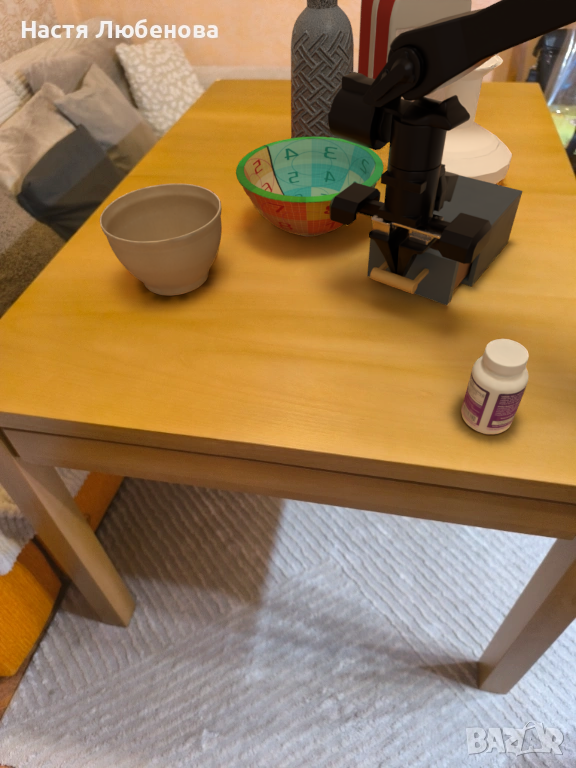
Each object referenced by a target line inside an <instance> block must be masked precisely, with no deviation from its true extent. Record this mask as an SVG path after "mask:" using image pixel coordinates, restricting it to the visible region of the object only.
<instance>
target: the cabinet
mask: <svg viewBox="0 0 576 768" xmlns="http://www.w3.org/2000/svg"><path fill="white" fill-rule="evenodd" d="M523 192H524V191H523V190H521V189H517V188H513V187H509V186H506V185H505V186H504V185H500V184H498V183H496V184H493V183H489V182H485V181H481V180H477V179H473V178H469V177H465V176H461V175H459V177H458V180H457V183H456V186H455V190H454V193H453V196H452V199H451V201H450V202H448V201H444V205H443V208H442V209H441V210H440V211H439V212H438V211H434V212H433V214H435V215H439V216H442V217H444V221H447V222H450V223H451V222H452V221H453V220H454V219H455V218H456V217H457V216H458V215H459V214H460V213H465V214H468V215H472V216H475V217H479V218H482V219H486V220H489V222H490V224H491V226H492V229H493V231H492V234H491V238H490V242H489V243H488V244H487V246H486V247H485V248H484V249H483V250H482V251H481V252H480V253H479V255H478V256H477V257H476V258H475V259H474V260H473V262H472V266H471V271H470V272H469V273H468V274H467V275H466V277H465V278H464V279H463V280H462V281H461V282H460V284H463V285H465V286H469V287H471V288H472V287H473V286H474V285H475V284H476V283H477V281H478V280H479V279H480V277H481V276H482V275H483V274H484V272H486V270H487V269H488V268H489V266H490V265H491V264H492V263H493V262H494V260H495V259H496V257H498V255H499V254H500V253H501V252H502V251H503V249H504V248H505V247H506V246H507V244H508V243H509V241H510V240H509V239H510V236H511V233H512V229H513V226H514V223H515V220H516V216H517V212H518V208H519V205H520V201H521V198H522V196H523Z"/></svg>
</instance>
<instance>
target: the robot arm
mask: <svg viewBox="0 0 576 768" xmlns="http://www.w3.org/2000/svg"><path fill="white" fill-rule="evenodd" d="M574 23H576V0H499V1H497V2H494V3H492V4H490V5H488V6H486V7H483V8H479V9H474V10H471V11H468V12H465V13H461V14H457V15H453V16H449V17H445V18H442V19H439V20H436V21H433V22H431V23H428V24H425V25H422V26H420V27H417V28H414V29H412V30H409V31H406V32H403V33H401V34H399V35H398V36H397V37H396V38H395V39H394V40H393V41H392V43H391V44H390V51H389V54H388V61H387V63H386V65H385V66H384V67H383V69H382V70H381V72H380V73H379V75H378V76H377V78H376V79H373V78H369V77H366V76H365V75H363V74H361V73H358V71H357V72H356V71H353V73H350V74H348V75H345V76H343V77H342V86H341V89H340V90H339V91H338V93H337V94H336V96H335V98H334V100H333V103H332V105H331V109H330V111H329V113H328V125H329V129H330V131H331V133H332V135H334V136H335V137H337V138H340V139H343V140H346V141H349V142H352V143H355V144H358V145H361V146H364V147H367V148H369V149H371V150H373V151H380V150H381V149H383V148H385V146H386V145H387V144H389V147H388V158H387V169H386V170H385V171H383V173H382V174H381V178H380V184H382V185H385V191H384V192H385V193H384V201H381V191H380V190H379V189H378V188H376V187H375V188H373V187H370V186H366V185H362V184H359V183H355V182H354V183H353V184H351V185H350V186H348V187H347V188H346V189H344V190H343V191H342V192H340V193H339V194H338V195H336V196H335V197H334V198H333V199H332V201H331V203H330V216H329V217H330V220H332V221H335V222H338V223H341V224H344V225H345V226H350V225H351V224H353V223H354V222H355V221H357V216H358V214H360V215H364V216H367V217H370V218H371V219H370V221H371V222H372V225H371V230H369V232H368V238H369V240H370V239H373V240H374V241H375V243H376V244H377V246H378V248H379V249H380V251H381V253H382V254H383V256H384V258H385V260H386V262H387V264H388V267H389V269H390V271H391V273H394V274H397V275H400V276H403V277H405V276H406V274H407V273H408V271H409V269H410V267H411V265H412V264H413V262H414V260H415V258H416V257H417V255H421V254H423V253H424V252H425V251H426V250H427V249H428V248H429V247H430V246H431V245H432V244H433V243H434V242H435V241H436V240H437V239H439V242H438V248H437V249H438V250H439V252H440V254H441V255H442V257H445V258H448V259H451V260H454V261H457V262H460V263H463V264H467V263H472V261H473V260H474V259H475V258H476V257H477V256H478V255H479V253H480V252H481V251H482V250H483V249H484V248H485V247H486V246H487V244H488V243H489V242H490V238H491V234H492V231H493V229H492V226H491V224H490V222H489V220H486V219H482V218H479V217H475V216H472V215H468V214H465V213H460V214H459V215H458V216H457V217H456V218H455V219H454V220H453V221H452V222H451V223H450V222H447V221H444V217H442V216H439V215H435V214H433V212H434V211H438V212H439V211H440V210H441V209H442V208H443V205H444V201H448V202H450V201H451V199H452V196H453V193H454V190H455V186H456V183H457V180H458V177H459V175H458V174H455V173H451V172H447V171H445V165H444V164H441V163H442V157H443V151H444V145H445V139H446V133H447V131H450V130H452V129H454V128H455V127H457V126H459V125H461V124H463V123H465V122H466V121H468V120H469V119H470V114H469V113H468V111H467V110H466V108H465V107H464V106H462V105H461V103H460V102H459V99H458V96H457V95H453V96H451V97H449V98H447V99H445V100H443V101H439V100H435V99H431V98H427V97H425V96H427V95H429V94H431V93H433V92H435V91H437V90H439V89H441V88H444V87H446V86H448V85H450V84H452V83H454V82H456V81H458V80H459V79H461V78H462V77H464V76H465V75H467V74H469V73H470V72H472V71H473V70H475V69H476V68H478V67H479V66H481V65H482V64H484V63H485V62H486V61H488V60H489V59H490V58H492V57H493V56H495V55H497V56H498V54H501V53H502V52H505V51H508V50H510V49H512V48H515V47H517V46H520V45H522V44H525V43H528V42H530V41H532V40H534V39H537V38H540V37H542V36H544V35H545V36H546V35H547V34H549V33H552V32H554V31H557V30H559V29H561V28H564V27H567V26H569V25H571V24H574ZM401 97H403V99H401ZM407 100H408V101H407ZM413 100H414V101H413ZM412 101H413V102H412ZM344 225H343V226H344ZM408 230H409V233H410V234H409V236H408V237H407V238H406V235H407V232H408Z"/></svg>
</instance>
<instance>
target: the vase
mask: <svg viewBox="0 0 576 768" xmlns="http://www.w3.org/2000/svg"><path fill="white" fill-rule="evenodd" d="M338 1H339V0H306V6H305V8H304V9H303V10H302V11H301V12H300V13H299V15H298V16H297V18H296V20H295V22H294V23H293V27H292V32H291V37H290V38H291V39H290V138H299V137H331V138H337V137H335V136H334V135H332V133H331V131H330V129H329V125H328V113H329V111H330V109H331V105H332V103H333V100H334V98H335V96H336V94H337V93H338V91H339V90H340V89H341V86H342V77H343V76H345V75H348V74H350V73H353V72H354V67H355V66H354V65H355V64H354V53H355V51H354V50H355V49H354V47H355V45H354V33H353V27H352V24H351V23H352V22H351V21H350V18H349V17H348V15H347V14H346V13H345V11H344V10H343V9H342V8H341V7H340V6H339V5H338ZM339 139H340V138H339Z"/></svg>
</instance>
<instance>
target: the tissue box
mask: <svg viewBox="0 0 576 768" xmlns="http://www.w3.org/2000/svg"><path fill="white" fill-rule="evenodd" d="M472 4H473V3H472V0H361V1H360V12H359V36H358V56H357V73H361V74H363V75H365V76H366V77H369V78H373V79H376V78H377V76H378V75H379V73H380V72H381V70H382V69H383V67H384V66H385V65H386V63H387V61H388V54H389V51H390V44H391V43H392V41H393V40H394V39H395V38H396V37H397V36H398V35H399V34H401V33H403V32H406V31H409V30H412V29H414V28H417V27H420V26H422V25H425V24H428V23H431V22H433V21H436V20H439V19H442V18H445V17H449V16H453V15H457V14H461V13H465V12H468V11H472ZM444 93H445V87H444V88H441V89H439V90H437V91H435V92H433V93H431V94H429V95H427V96H425V97H427V98H431V99H435V100H439V101H443V100H444ZM401 99H403V97H401ZM407 101H408V100H407ZM413 101H414V100H413ZM413 101H412V102H413Z"/></svg>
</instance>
